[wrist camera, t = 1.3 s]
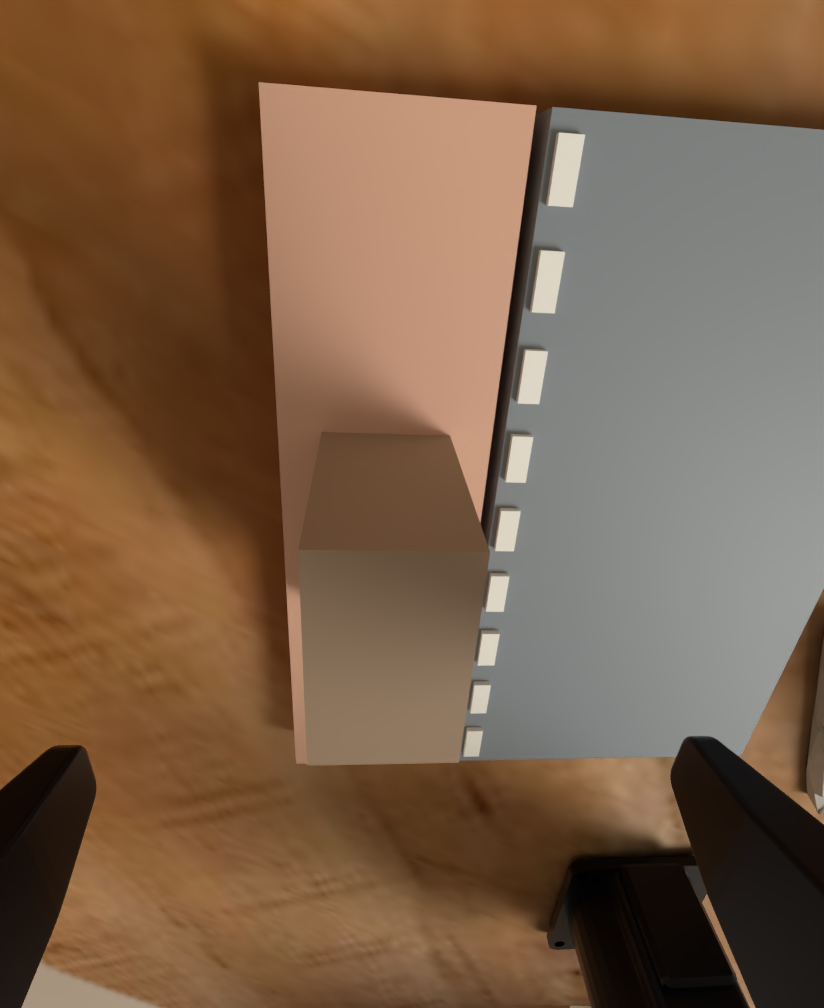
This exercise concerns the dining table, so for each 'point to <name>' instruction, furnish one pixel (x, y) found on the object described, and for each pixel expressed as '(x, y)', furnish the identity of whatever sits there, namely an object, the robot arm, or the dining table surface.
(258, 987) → the dining table surface
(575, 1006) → the milk
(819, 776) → the packaged product
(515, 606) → the board
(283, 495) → the stub
